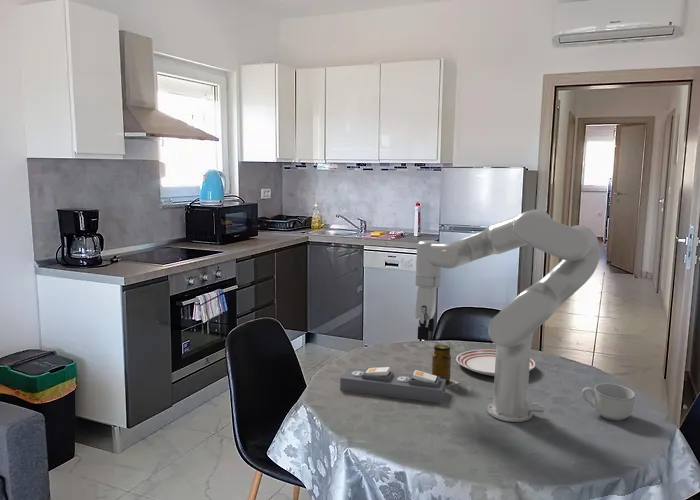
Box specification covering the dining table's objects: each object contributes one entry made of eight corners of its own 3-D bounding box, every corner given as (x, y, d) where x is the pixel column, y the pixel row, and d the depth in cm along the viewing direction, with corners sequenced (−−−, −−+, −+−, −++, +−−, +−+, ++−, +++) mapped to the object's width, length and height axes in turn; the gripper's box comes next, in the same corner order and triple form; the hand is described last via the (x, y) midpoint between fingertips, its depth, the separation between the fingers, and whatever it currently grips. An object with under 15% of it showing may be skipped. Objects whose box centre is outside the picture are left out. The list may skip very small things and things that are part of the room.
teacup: (634, 413, 169) (636, 387, 168) (631, 427, 160) (633, 400, 159) (583, 403, 176) (585, 378, 175) (577, 416, 167) (579, 389, 166)
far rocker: (390, 370, 186) (389, 366, 185) (387, 375, 181) (386, 371, 181) (369, 371, 188) (368, 367, 188) (366, 376, 183) (365, 372, 183)
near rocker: (436, 379, 182) (437, 375, 181) (434, 384, 177) (435, 380, 177) (414, 373, 183) (415, 369, 183) (412, 378, 179) (412, 374, 179)
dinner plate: (440, 366, 208) (440, 357, 207) (484, 351, 226) (485, 343, 226) (506, 388, 188) (507, 378, 187) (549, 370, 206) (550, 361, 205)
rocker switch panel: (445, 391, 184) (445, 375, 183) (441, 403, 175) (441, 386, 174) (349, 379, 193) (349, 364, 192) (340, 390, 184) (340, 374, 183)
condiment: (440, 375, 198) (441, 342, 196) (459, 383, 191) (461, 348, 190) (425, 380, 193) (426, 346, 192) (444, 388, 187) (446, 352, 185)
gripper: (420, 275, 186) (418, 326, 188) (410, 285, 170) (408, 341, 172) (444, 277, 184) (441, 329, 186) (435, 287, 167) (433, 344, 170)
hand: (425, 335), depth 179 cm, fingers open, 9 cm apart
